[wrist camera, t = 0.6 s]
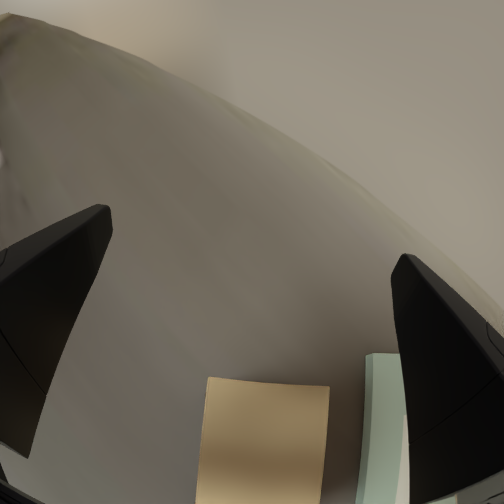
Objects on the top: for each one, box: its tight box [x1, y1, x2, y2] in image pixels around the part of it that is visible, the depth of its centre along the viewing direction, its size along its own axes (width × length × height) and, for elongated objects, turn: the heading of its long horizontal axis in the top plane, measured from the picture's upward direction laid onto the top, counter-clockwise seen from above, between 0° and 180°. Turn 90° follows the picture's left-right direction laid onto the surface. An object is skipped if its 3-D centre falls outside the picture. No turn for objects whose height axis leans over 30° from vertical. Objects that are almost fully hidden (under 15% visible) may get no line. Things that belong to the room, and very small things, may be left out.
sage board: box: [355, 353, 455, 504], centre depth 19 cm, size 18×18×1 cm
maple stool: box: [195, 377, 330, 504], centre depth 15 cm, size 10×6×7 cm, turn 175°
